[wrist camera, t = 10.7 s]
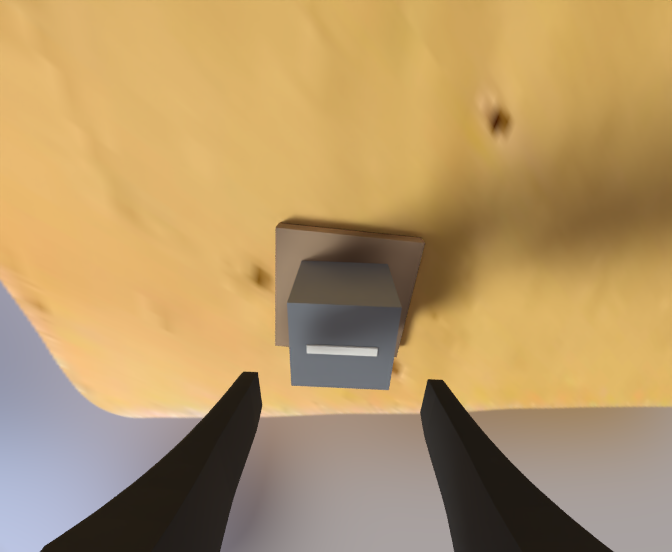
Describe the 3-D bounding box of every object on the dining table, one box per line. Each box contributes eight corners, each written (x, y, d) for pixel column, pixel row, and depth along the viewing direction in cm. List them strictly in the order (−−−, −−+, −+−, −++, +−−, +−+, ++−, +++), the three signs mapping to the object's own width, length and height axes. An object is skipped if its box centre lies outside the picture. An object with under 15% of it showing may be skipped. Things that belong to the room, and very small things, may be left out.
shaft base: (421, 237, 18) (440, 264, 14) (394, 348, 22) (404, 392, 18) (279, 222, 18) (261, 246, 14) (278, 336, 22) (264, 378, 18)
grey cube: (387, 264, 18) (402, 308, 13) (379, 333, 20) (388, 391, 16) (301, 260, 18) (286, 303, 13) (303, 330, 20) (291, 386, 16)
